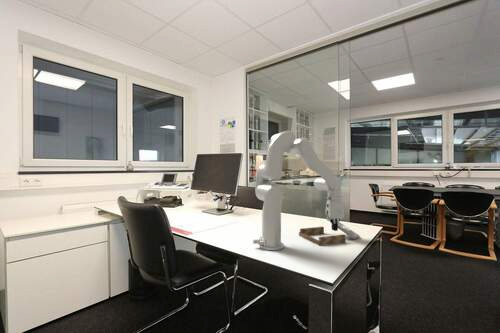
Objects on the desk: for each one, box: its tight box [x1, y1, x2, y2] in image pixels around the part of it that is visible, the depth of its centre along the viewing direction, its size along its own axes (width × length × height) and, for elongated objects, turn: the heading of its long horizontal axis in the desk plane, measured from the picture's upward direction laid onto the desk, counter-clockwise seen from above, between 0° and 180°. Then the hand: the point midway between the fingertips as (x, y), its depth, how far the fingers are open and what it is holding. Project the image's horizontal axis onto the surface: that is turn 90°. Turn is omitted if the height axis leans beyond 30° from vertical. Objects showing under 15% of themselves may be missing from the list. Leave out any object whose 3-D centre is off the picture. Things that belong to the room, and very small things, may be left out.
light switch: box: [338, 221, 361, 240], centre depth 135 cm, size 8×6×14 cm
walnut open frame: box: [298, 226, 346, 246], centre depth 130 cm, size 17×19×4 cm
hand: (334, 230), depth 133 cm, fingers closed
